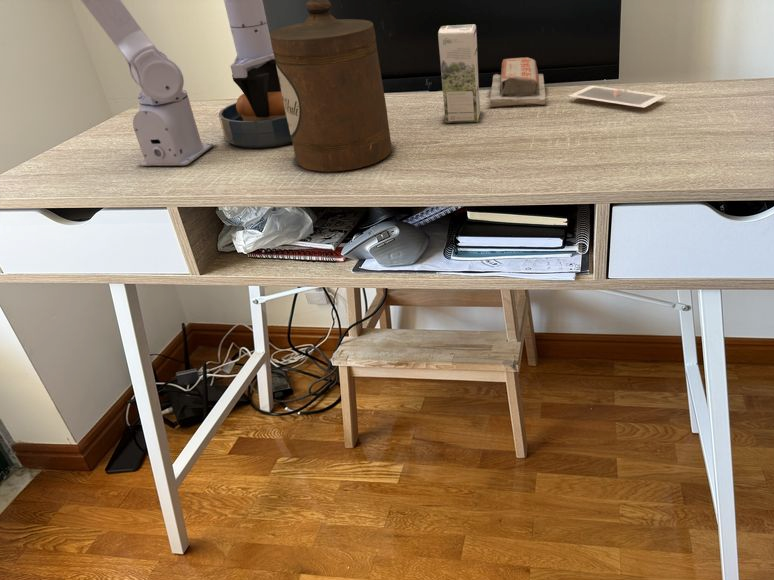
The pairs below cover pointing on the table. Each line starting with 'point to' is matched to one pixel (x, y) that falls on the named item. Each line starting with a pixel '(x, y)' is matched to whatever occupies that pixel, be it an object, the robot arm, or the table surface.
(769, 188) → the table surface
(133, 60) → the robot arm
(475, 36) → the syrup box
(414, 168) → the table surface
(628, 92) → the touchpad
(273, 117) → the bun
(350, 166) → the wooden container
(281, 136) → the bowl
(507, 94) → the packaged product
